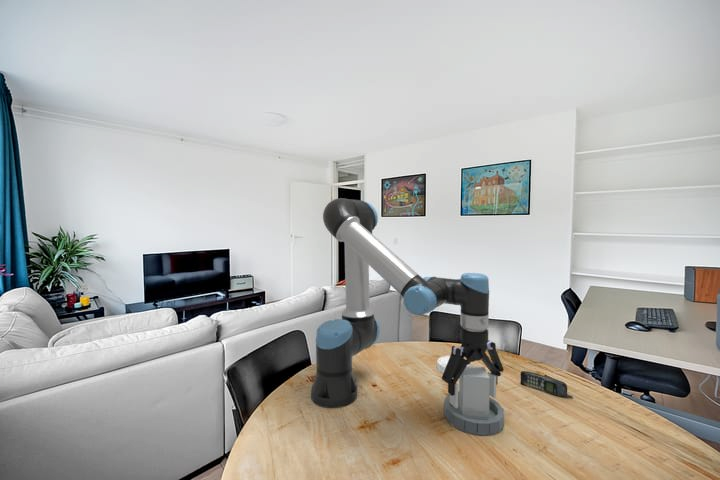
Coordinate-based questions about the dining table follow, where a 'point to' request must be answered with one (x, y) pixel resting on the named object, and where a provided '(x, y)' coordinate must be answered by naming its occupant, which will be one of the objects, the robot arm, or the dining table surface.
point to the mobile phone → (544, 384)
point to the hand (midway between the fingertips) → (473, 400)
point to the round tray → (472, 425)
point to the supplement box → (474, 393)
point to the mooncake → (442, 363)
